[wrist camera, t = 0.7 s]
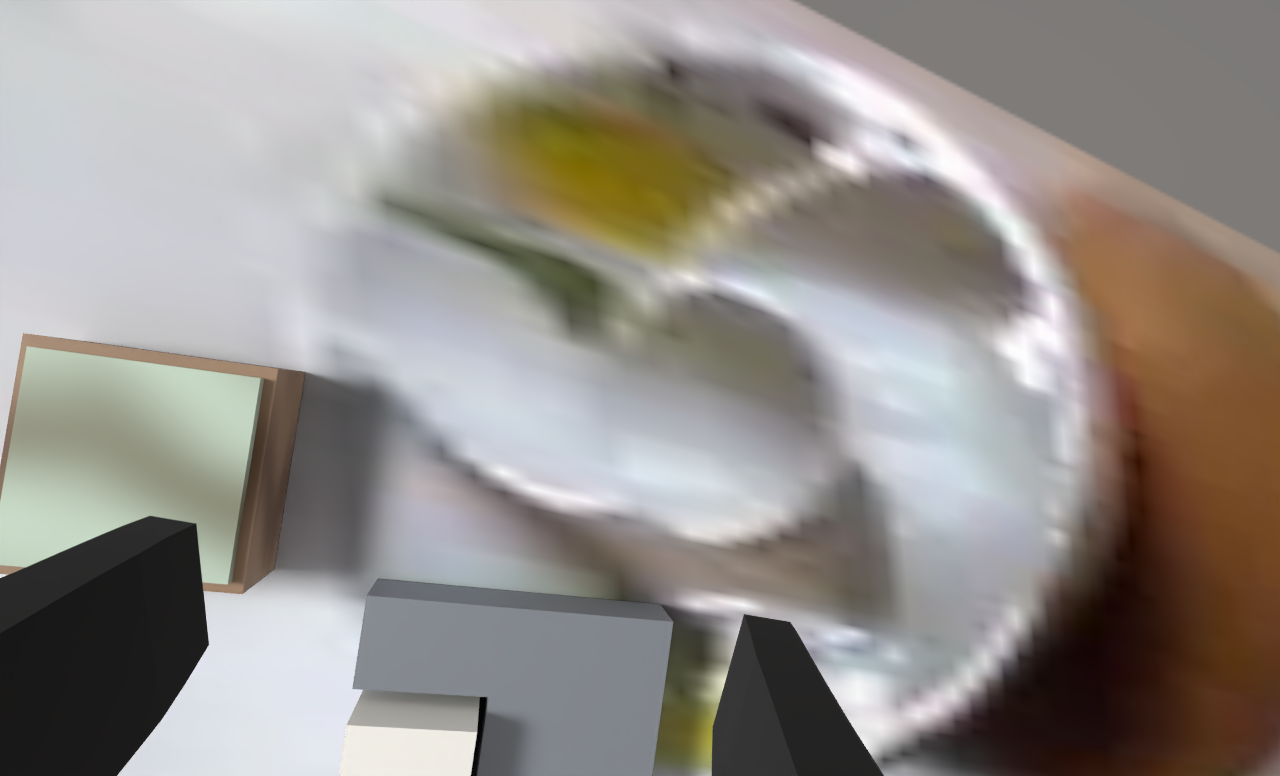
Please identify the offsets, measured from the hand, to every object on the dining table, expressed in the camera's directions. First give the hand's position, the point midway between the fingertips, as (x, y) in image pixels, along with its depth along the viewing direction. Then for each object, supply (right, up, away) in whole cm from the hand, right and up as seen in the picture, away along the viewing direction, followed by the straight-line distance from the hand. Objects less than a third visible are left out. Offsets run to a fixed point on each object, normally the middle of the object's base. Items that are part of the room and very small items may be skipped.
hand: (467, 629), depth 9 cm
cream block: (-7, -11, +20) cm, 24 cm away
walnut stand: (-16, 0, +19) cm, 24 cm away
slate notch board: (-3, -11, +21) cm, 24 cm away
